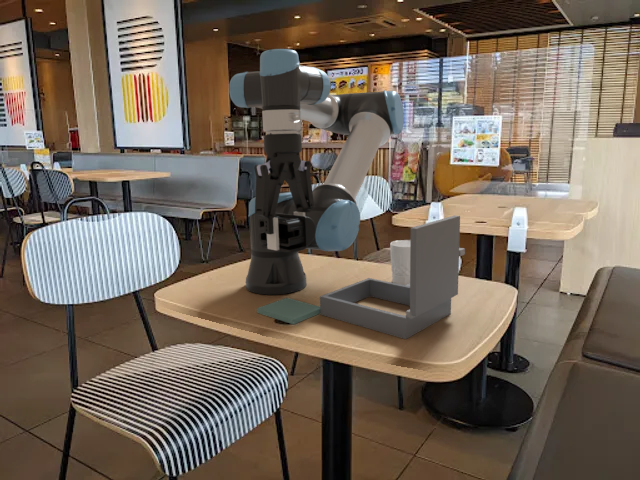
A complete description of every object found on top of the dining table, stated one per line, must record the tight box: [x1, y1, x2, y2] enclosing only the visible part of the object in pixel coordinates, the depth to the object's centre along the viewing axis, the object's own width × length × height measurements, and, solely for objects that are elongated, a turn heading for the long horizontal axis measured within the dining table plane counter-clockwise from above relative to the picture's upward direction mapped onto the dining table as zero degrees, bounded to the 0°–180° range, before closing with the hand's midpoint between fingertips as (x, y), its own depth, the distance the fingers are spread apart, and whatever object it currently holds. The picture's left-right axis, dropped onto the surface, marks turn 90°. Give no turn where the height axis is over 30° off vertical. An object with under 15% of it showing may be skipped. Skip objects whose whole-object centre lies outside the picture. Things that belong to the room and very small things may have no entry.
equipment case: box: [319, 215, 466, 340], centre depth 104 cm, size 23×19×21 cm
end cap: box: [259, 213, 316, 253], centre depth 104 cm, size 10×7×7 cm
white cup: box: [389, 239, 410, 285], centre depth 126 cm, size 8×8×10 cm
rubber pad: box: [256, 297, 320, 325], centre depth 108 cm, size 11×9×1 cm
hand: (287, 245), depth 105 cm, fingers closed on end cap, 7 cm apart
